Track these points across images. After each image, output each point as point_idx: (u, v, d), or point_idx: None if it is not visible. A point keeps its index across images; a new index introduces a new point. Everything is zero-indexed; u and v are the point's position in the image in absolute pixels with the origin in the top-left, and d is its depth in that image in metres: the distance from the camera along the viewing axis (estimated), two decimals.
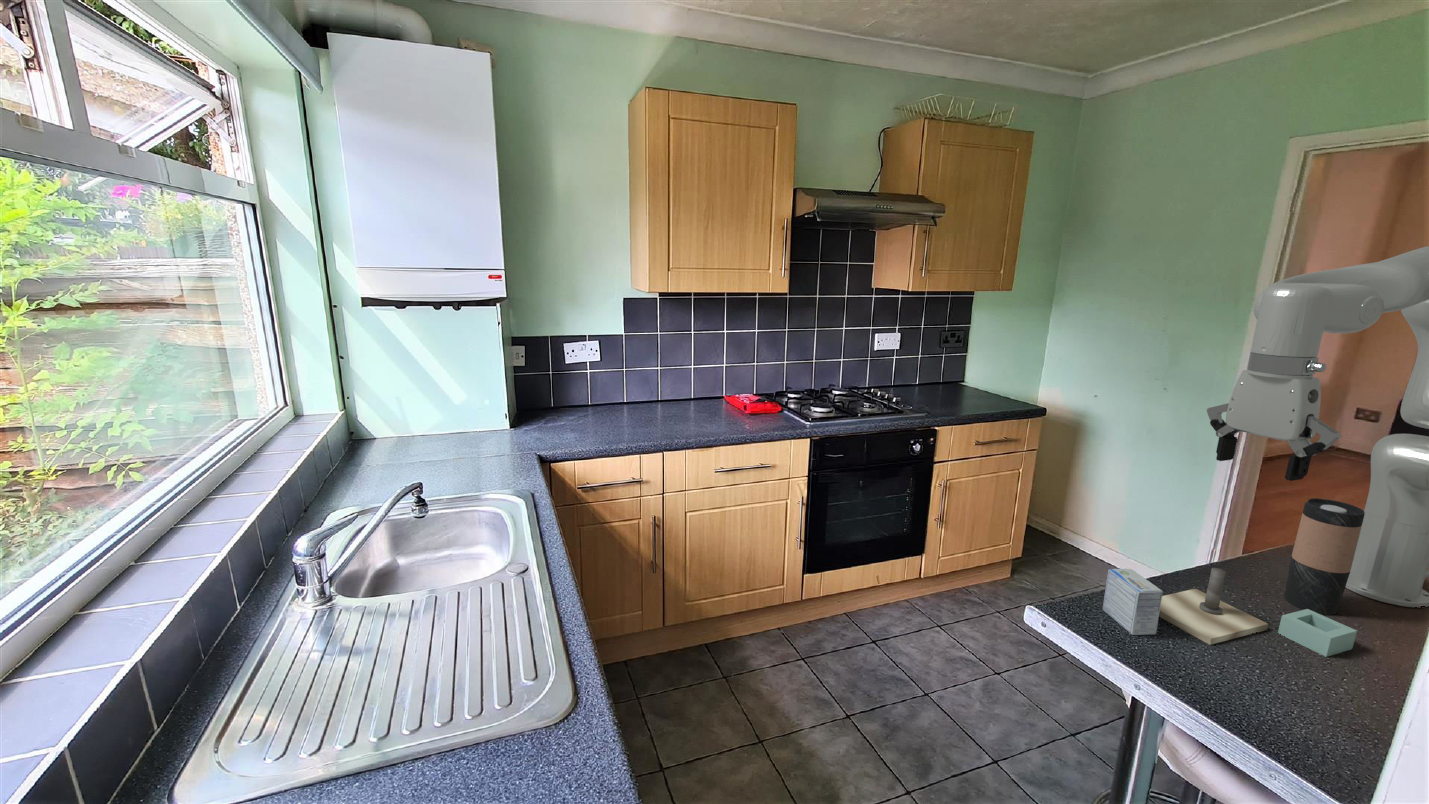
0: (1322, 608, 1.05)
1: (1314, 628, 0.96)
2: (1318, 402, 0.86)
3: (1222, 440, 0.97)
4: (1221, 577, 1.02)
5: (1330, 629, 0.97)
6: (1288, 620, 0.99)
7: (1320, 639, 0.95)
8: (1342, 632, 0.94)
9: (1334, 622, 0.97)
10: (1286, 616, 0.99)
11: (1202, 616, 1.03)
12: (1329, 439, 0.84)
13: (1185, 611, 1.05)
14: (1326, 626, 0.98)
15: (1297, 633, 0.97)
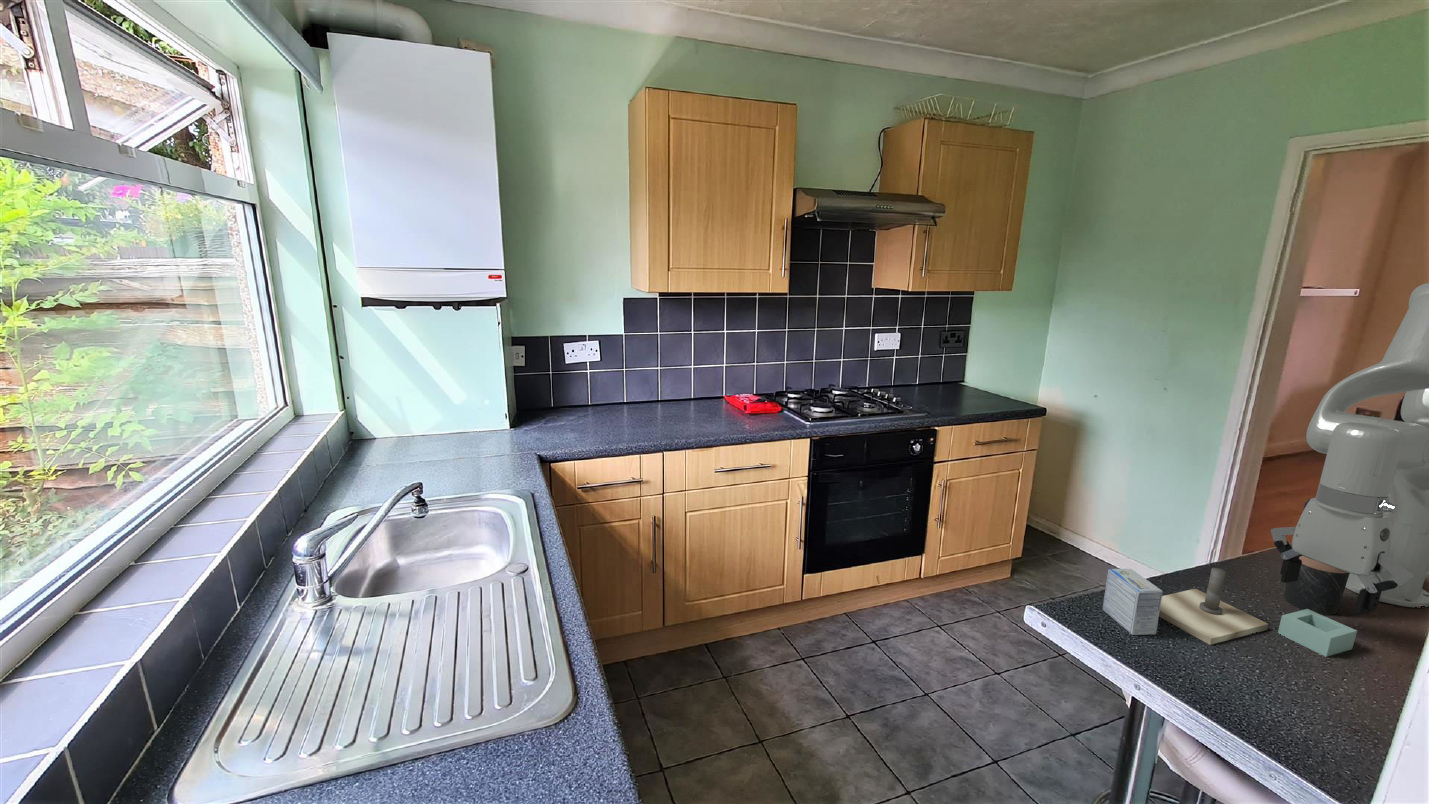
0: (1322, 608, 1.05)
1: (1314, 628, 0.96)
2: (1389, 540, 0.89)
3: (1287, 563, 0.99)
4: (1221, 577, 1.02)
5: (1330, 629, 0.97)
6: (1288, 620, 0.99)
7: (1320, 639, 0.95)
8: (1342, 632, 0.94)
9: (1334, 622, 0.97)
10: (1286, 616, 0.99)
11: (1202, 616, 1.03)
12: (1402, 579, 0.86)
13: (1185, 611, 1.05)
14: (1326, 626, 0.98)
15: (1297, 633, 0.97)
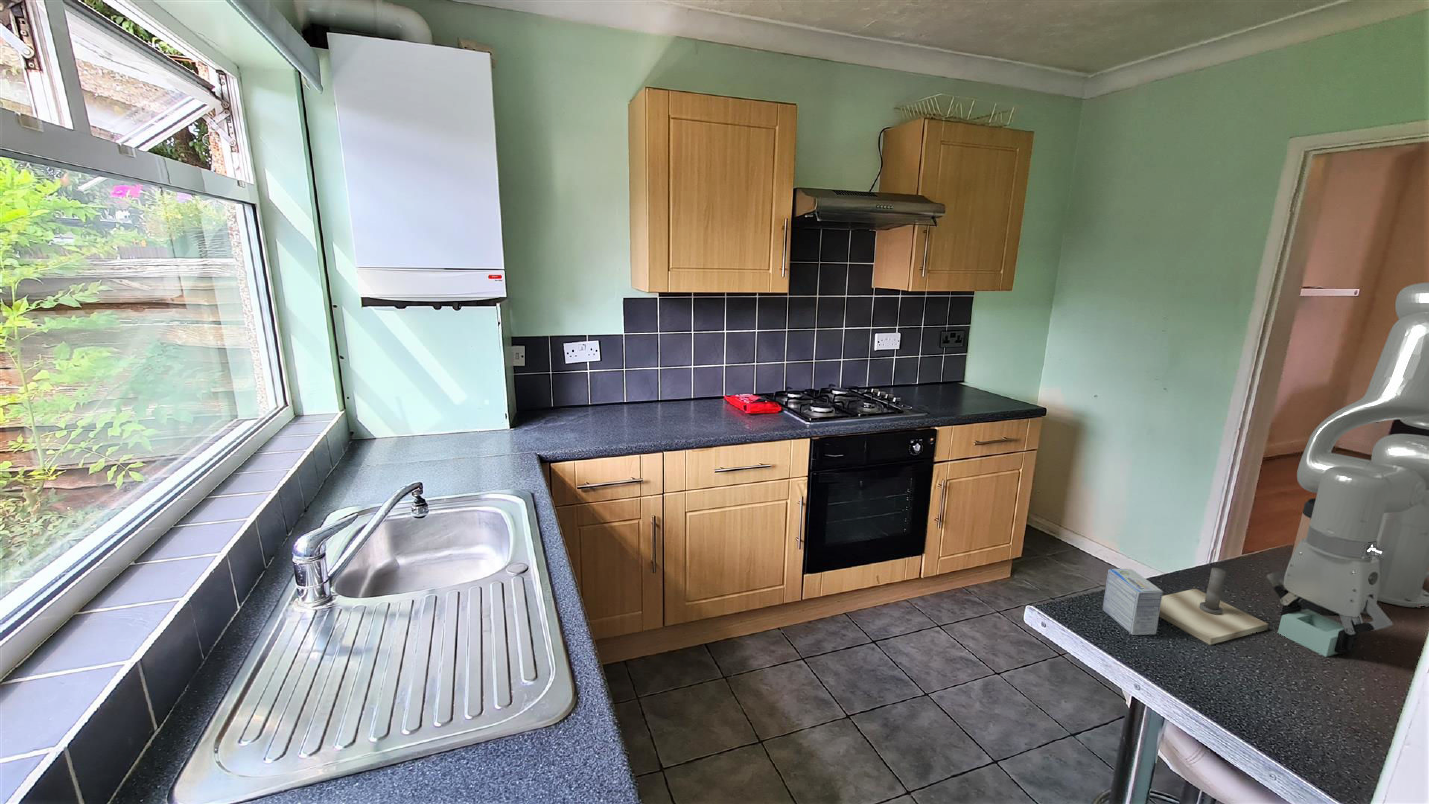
0: (1322, 608, 1.05)
1: (1314, 628, 0.96)
2: (1378, 583, 0.91)
3: (1287, 609, 1.00)
4: (1221, 577, 1.02)
5: (1330, 629, 0.97)
6: (1288, 620, 0.98)
7: (1320, 639, 0.95)
8: None
9: (1334, 622, 0.97)
10: (1286, 616, 0.99)
11: (1202, 616, 1.03)
12: (1380, 626, 0.89)
13: (1185, 611, 1.05)
14: (1326, 626, 0.98)
15: (1297, 633, 0.97)
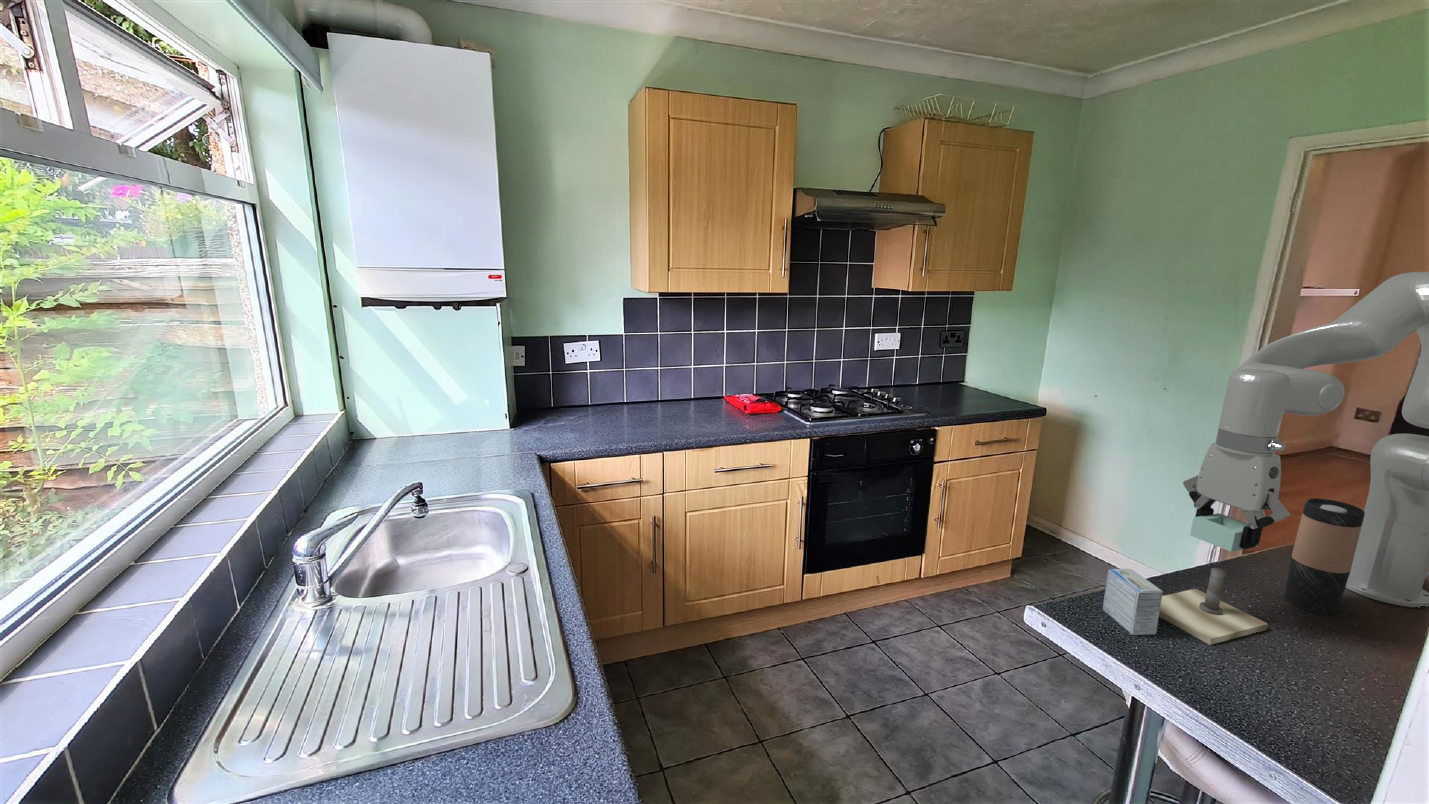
0: (1322, 608, 1.05)
1: (1221, 526, 1.00)
2: (1278, 477, 0.95)
3: (1199, 512, 1.04)
4: (1221, 577, 1.02)
5: None
6: (1199, 521, 1.02)
7: (1226, 535, 0.98)
8: None
9: (1242, 522, 1.01)
10: (1197, 518, 1.03)
11: (1202, 616, 1.03)
12: (1279, 517, 0.93)
13: (1185, 611, 1.05)
14: (1234, 526, 1.02)
15: (1206, 533, 1.01)
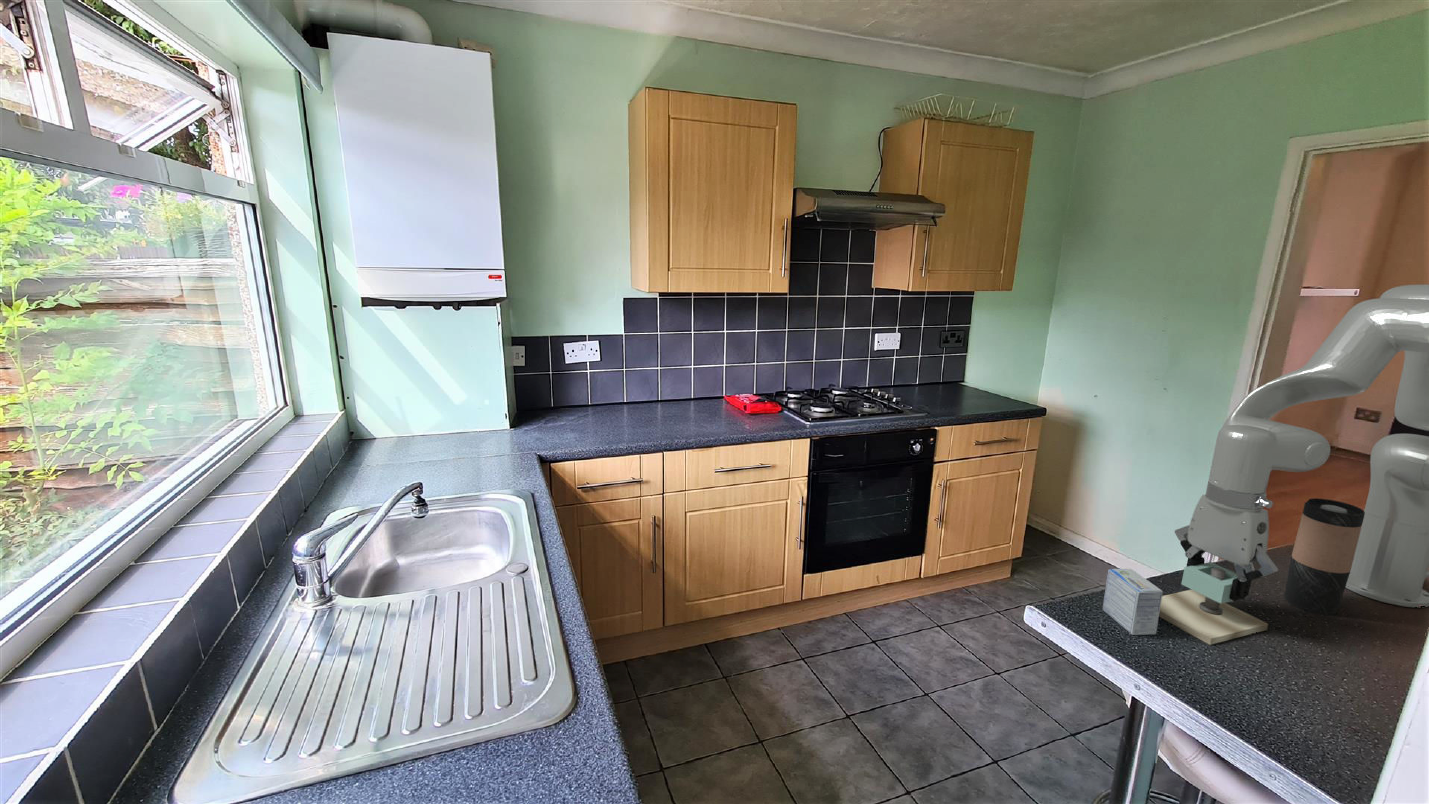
0: (1322, 608, 1.05)
1: (1211, 577, 1.02)
2: (1266, 532, 0.97)
3: (1190, 561, 1.06)
4: (1221, 577, 1.02)
5: None
6: (1190, 571, 1.05)
7: (1216, 587, 1.01)
8: None
9: (1232, 573, 1.03)
10: (1188, 568, 1.05)
11: (1202, 616, 1.03)
12: (1267, 572, 0.96)
13: (1185, 611, 1.05)
14: (1225, 577, 1.04)
15: (1197, 583, 1.04)
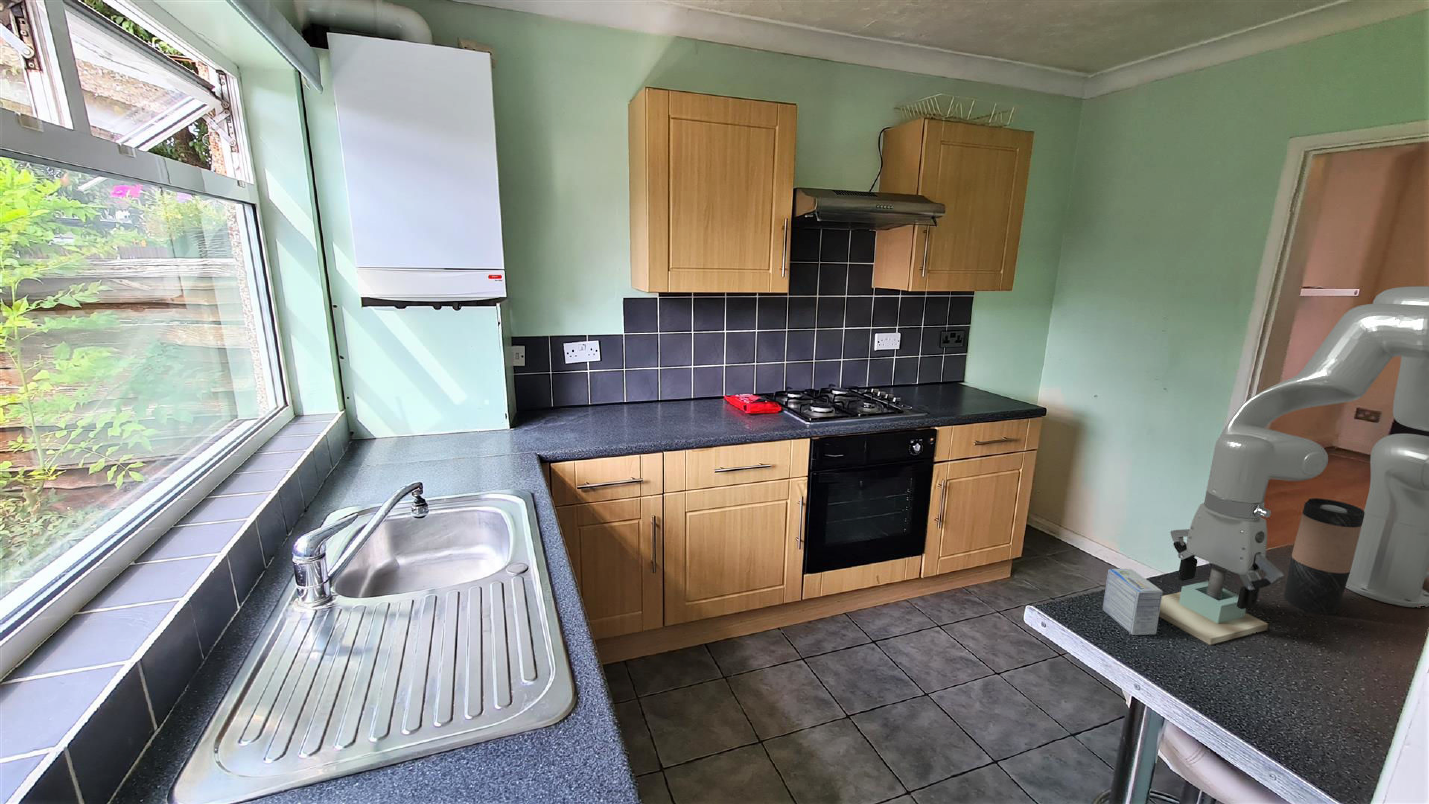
0: (1322, 608, 1.05)
1: (1208, 597, 1.03)
2: (1265, 541, 0.97)
3: (1183, 562, 1.07)
4: (1221, 577, 1.02)
5: (1225, 599, 1.04)
6: (1187, 590, 1.06)
7: (1213, 607, 1.02)
8: (1233, 601, 1.02)
9: (1229, 592, 1.04)
10: (1186, 587, 1.06)
11: (1202, 616, 1.03)
12: (1273, 578, 0.95)
13: (1185, 611, 1.05)
14: (1222, 596, 1.05)
15: (1194, 603, 1.04)
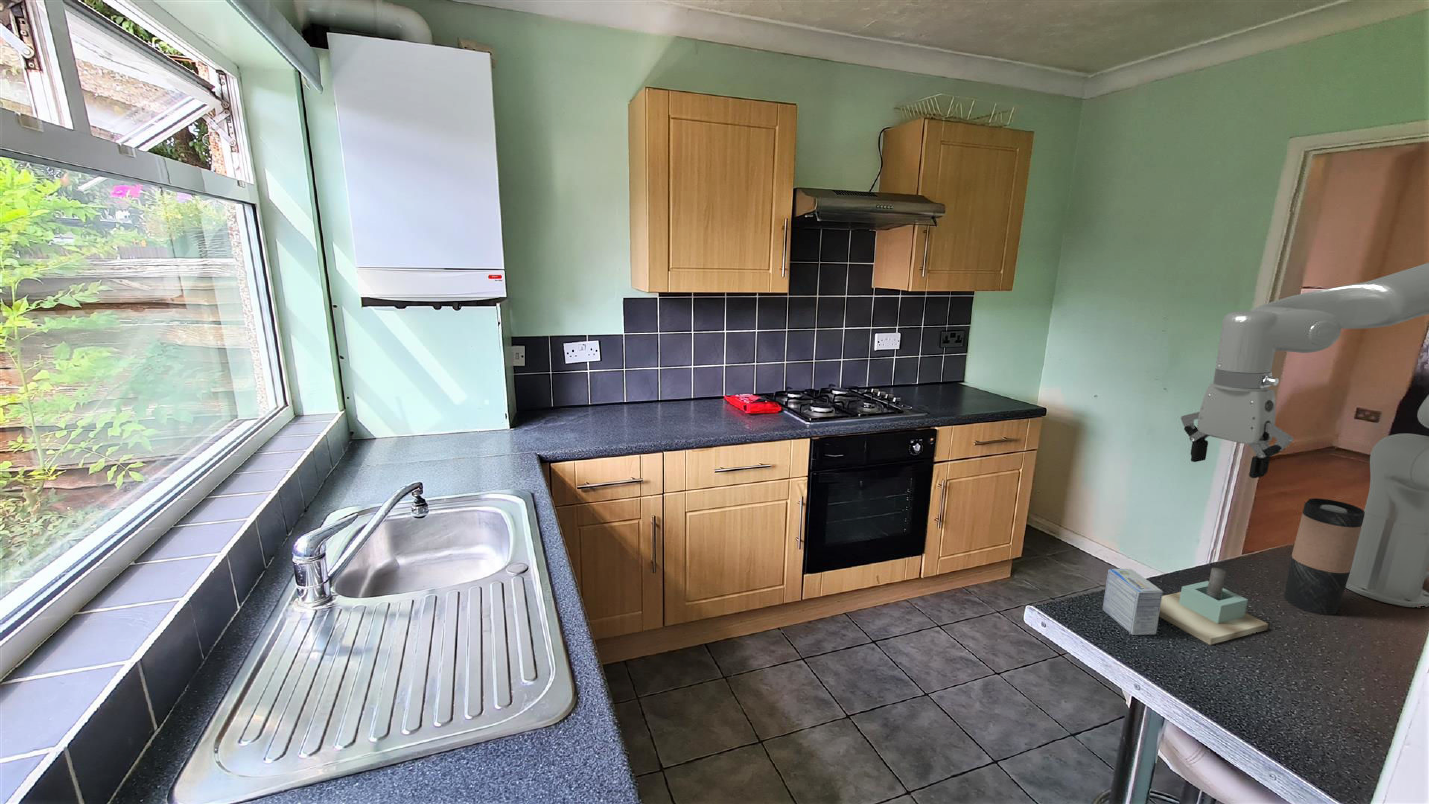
0: (1322, 608, 1.05)
1: (1208, 597, 1.03)
2: (1273, 410, 1.01)
3: (1195, 444, 1.11)
4: (1221, 577, 1.02)
5: (1225, 599, 1.04)
6: (1187, 590, 1.06)
7: (1213, 607, 1.02)
8: (1233, 601, 1.02)
9: (1229, 592, 1.04)
10: (1186, 587, 1.06)
11: (1202, 616, 1.03)
12: (1284, 442, 0.99)
13: (1185, 611, 1.05)
14: (1222, 596, 1.05)
15: (1194, 603, 1.04)
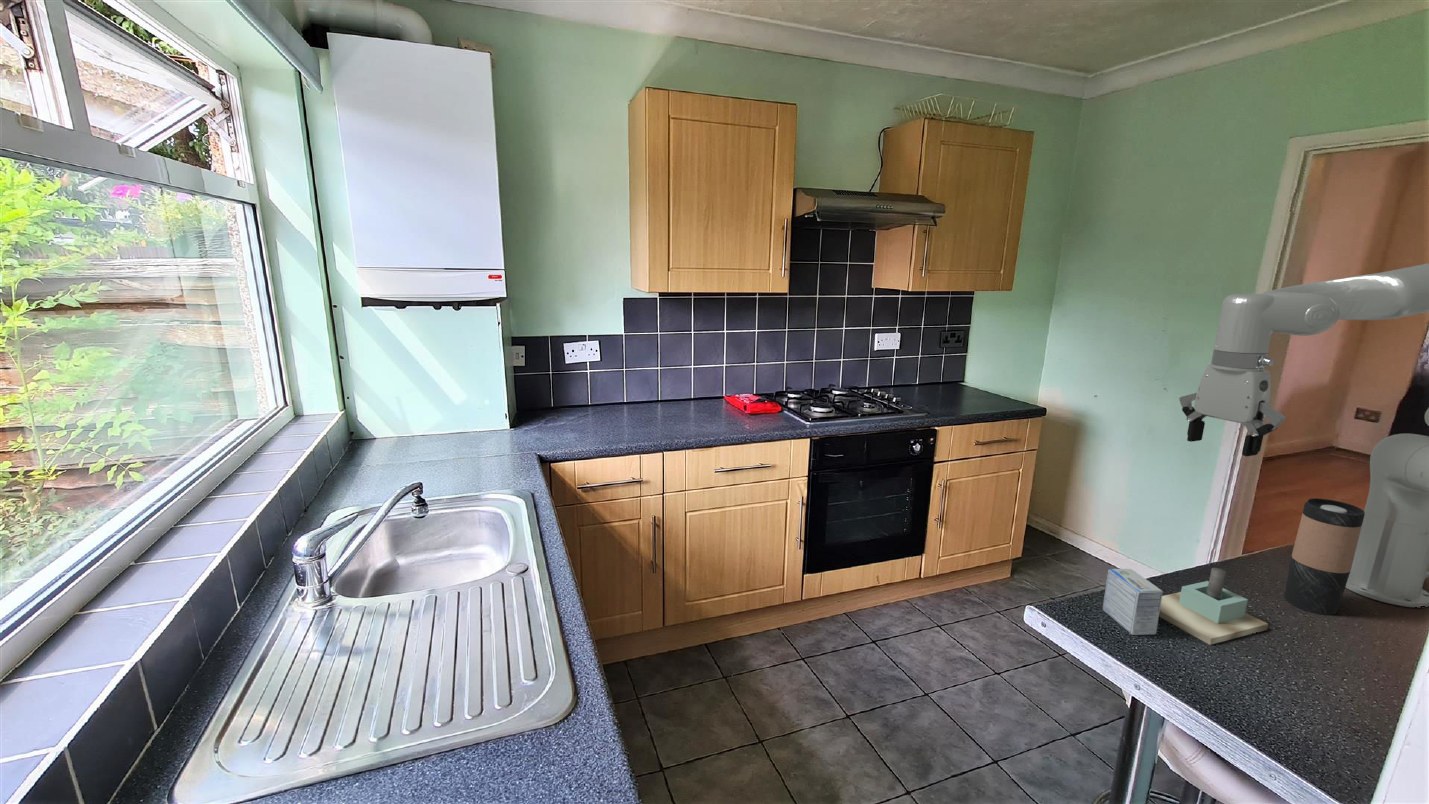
0: (1322, 608, 1.05)
1: (1208, 597, 1.03)
2: (1268, 390, 1.04)
3: (1192, 424, 1.15)
4: (1221, 577, 1.02)
5: (1225, 599, 1.04)
6: (1187, 590, 1.06)
7: (1213, 607, 1.02)
8: (1233, 601, 1.02)
9: (1229, 592, 1.04)
10: (1186, 587, 1.06)
11: (1202, 616, 1.03)
12: (1276, 421, 1.02)
13: (1185, 611, 1.05)
14: (1222, 596, 1.05)
15: (1194, 603, 1.04)
